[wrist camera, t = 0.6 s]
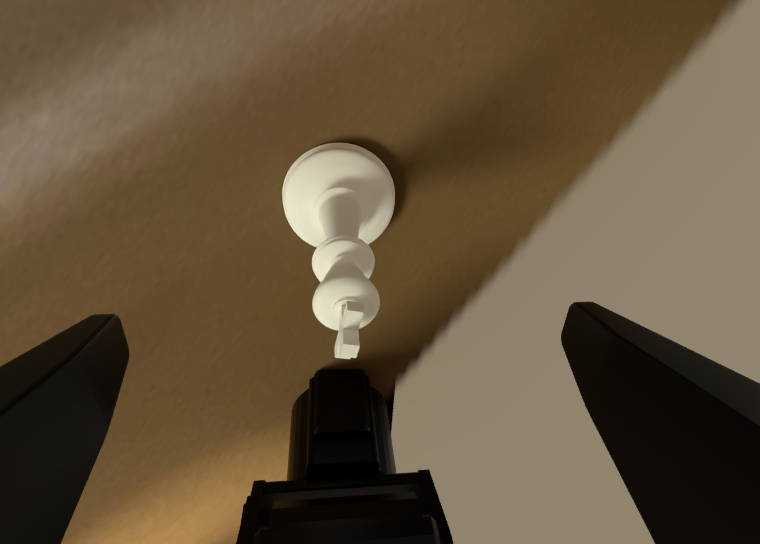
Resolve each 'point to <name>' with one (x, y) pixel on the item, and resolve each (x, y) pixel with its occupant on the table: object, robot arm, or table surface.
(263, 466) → the table surface
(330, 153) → the chess piece
